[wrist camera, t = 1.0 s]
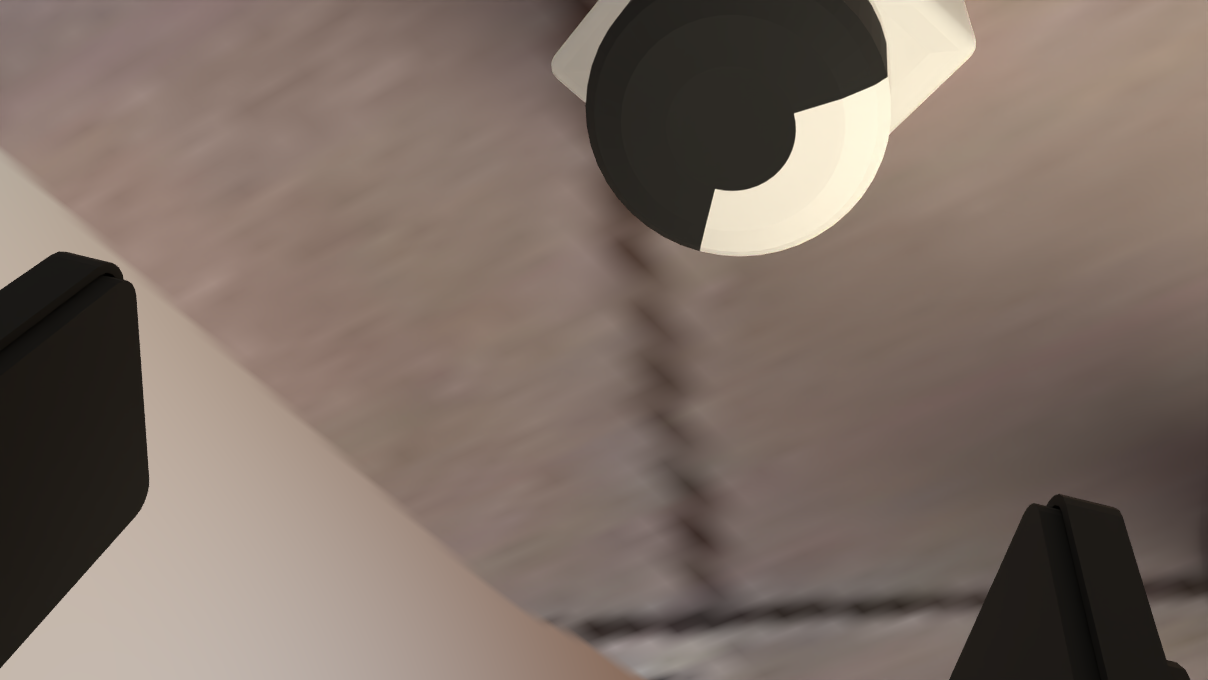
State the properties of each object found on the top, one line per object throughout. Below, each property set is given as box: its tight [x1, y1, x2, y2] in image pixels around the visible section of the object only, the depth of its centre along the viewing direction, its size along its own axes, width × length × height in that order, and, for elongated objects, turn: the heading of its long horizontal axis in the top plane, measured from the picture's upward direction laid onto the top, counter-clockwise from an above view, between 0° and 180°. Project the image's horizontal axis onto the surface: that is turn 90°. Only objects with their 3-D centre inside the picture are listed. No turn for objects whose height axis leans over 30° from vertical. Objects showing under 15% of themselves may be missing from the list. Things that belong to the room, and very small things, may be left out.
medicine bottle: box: [551, 0, 976, 256], centre depth 27 cm, size 7×7×12 cm
